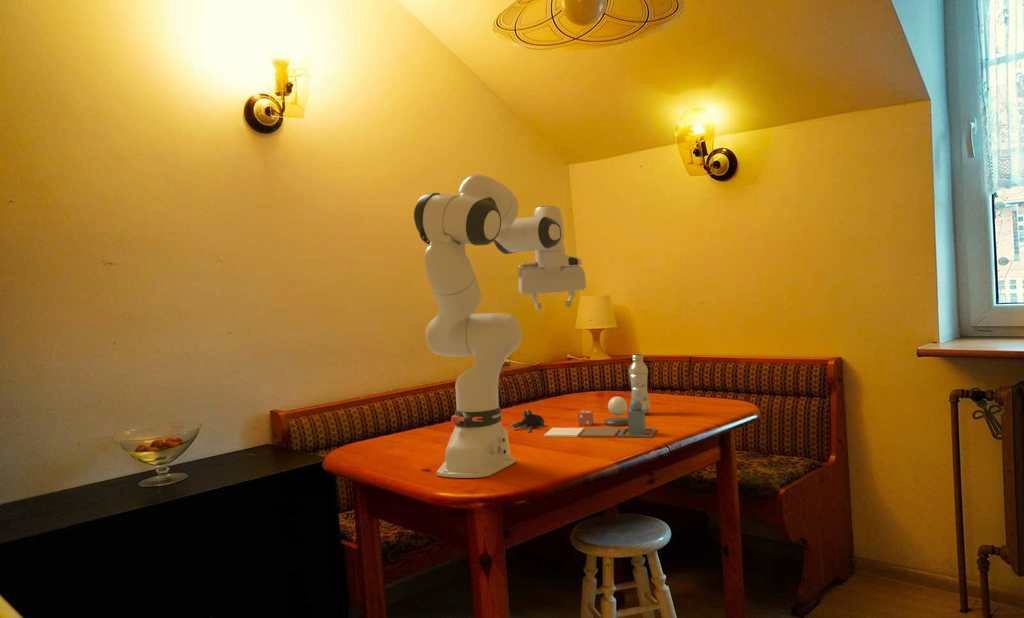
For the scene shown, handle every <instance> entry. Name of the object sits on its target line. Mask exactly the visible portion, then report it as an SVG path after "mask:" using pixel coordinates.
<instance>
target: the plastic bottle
mask: <svg viewBox="0 0 1024 618" xmlns="http://www.w3.org/2000/svg"><path fill="white" fill-rule="evenodd" d="M631 360H632V363H631V364H630V366H629V368H628V374H629V379H630V386H631V387H630V388H631V395H630V396H631V400H630V402H631V401H633V400H639V401H640V402H641V403H642V409H645V414H649V412H650V410H651V403H650V400H649V393H648V374H649V369H648V366H647V365H646V363H644V355H643V353H636V354H631Z"/></svg>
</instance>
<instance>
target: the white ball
mask: <svg viewBox="0 0 1024 618" xmlns="http://www.w3.org/2000/svg"><path fill="white" fill-rule="evenodd" d="M607 403H608V404H607V409H608V411H609V412H610V414H612V415H613V416H617V417H620V416H622V415H624V414H625V413H626V412H627V410H628V402H627V401H626V399H625V398H623V397H622V396H613V397H611V398H610V400H609V401H608V402H607Z"/></svg>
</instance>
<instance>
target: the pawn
mask: <svg viewBox="0 0 1024 618" xmlns="http://www.w3.org/2000/svg"><path fill="white" fill-rule="evenodd" d="M627 410H628V411H627V418H628V425H627V426H628V427H627V428H628V435H646V434H647V433H646V432H647V431H646V428H647V427H646V413H645V409H642V403H641V402H640V401H639V400H633V401H631V400H630V403H629V409H627Z"/></svg>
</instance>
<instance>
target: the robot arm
mask: <svg viewBox="0 0 1024 618" xmlns="http://www.w3.org/2000/svg"><path fill="white" fill-rule="evenodd" d="M519 205H520V204H519V200H518V198H517V197H516V195H515V193H514V192H513V191H512V190H511V189H509V188H508V187H507V186H506V185H504V184H503V183H502V182H500V181H498V180H496V179H494V178H492V177H490V176H486V175H484V174H478V173H477V174H472V175H470V176H468V177H467V178H465V179H464V180H463V181H462V183H461V185H460V186H459V189H458V194H450V193H449V194H447V193H443V194H441V193H439V192H432V193H426V194H423V195H421V196H420V197H419V199H418V200H417V202H416V203H415V206H414V209H413V220H414V223H415V227H416V230H417V232H418V233H419V238H420V239H421V240H422V241H423V242H424V243H425V244H427V245H428V246H427V248H426V250H425V251H424V255H423V261H424V266H425V272H426V276H427V280H428V283H429V284H430V289H431V291H432V293H433V297H434V299H435V301H436V305H437V308H438V309H437V310H438V311H437V314H436V316H434V318H433V319H431V320H430V321H429V322H428V324H427V326H426V328H425V336H424V338H425V342H426V346H427V347H428V349H429V350H430V352H431V353H433V354H434V355H437V356H438V355H440V356H443V357H444V356H445V357H450V358H451V357H474V364H473V365H472V367H471V368H468V369H467V370H465V371H463V373H461V374H460V375H459V376H458V377H457V378H456V381H455V384H454V385H455V386H454V387H455V400H456V401H455V402H456V404H455V405H456V410H455V411H454V415H451V418H450V420H451V422H450V423H452V424H454V428H453V431H452V433H451V435H450V437H449V440H448V443H447V446H446V448H445V461H443V463H442V464H441V466H440V467H439V468H438V470H436V475H437V476H440V477H443V478H444V477H445V478H458V479H459V478H461V479H463V478H464V479H465V478H466V479H468V478H469V479H471V478H473V479H475V478H486V477H490V476H492V475H494V474H496V473H498V472H500V471H502V470H504V469H505V468H507V467H509V466H511V465H513V464H514V463H516V462H517V461H516V457H515V456H512V455H511V451H510V443H509V442H510V441H509V436H508V434H509V433H508V429H506V427H504V425H503V424H502V422H501V421H502V409H501V407H500V405H499V404H500V403H499V402H500V401H499V379H500V374H501V370H502V367H503V365H504V363H505V362H506V360H507V359H508V358H509V357H510V355H512V354H513V353H514V352H515V351H517V349H518V348H519V346H520V344H521V341H522V337H523V331H522V326H521V324H520V322H519V320H518V319H517V318H516V317H515V316H514V315H513V314H512V315H511V314H506V313H499V312H490V313H489V312H486V313H475V312H476V310H478V308H479V307H480V305H481V303H482V292H481V288H480V286H479V282H478V280H477V276H476V274H475V272H474V269H473V266H472V263H471V261H470V259H469V257H468V255H467V254H466V245H467V244H468V245H473V246H488V245H490V244H491V243H493V244H494V245H495V247H496V249H498V251H500V252H501V253H502V254H504V255H509V254H515V253H524V252H533V251H535V253H534V254H535V262H529V263H526V262H523V263H522V264H520V265H519V266H518V267H517V276H518V292H519V293H520V295H521V296H522V295H524V296H525V295H530V299H531V300H532V301H533V303H534V306H535V307H534V308H535V310H542V302H539V301H538V299H537V298H538V294H549V293H551V294H553V293H565V292H567V294H568V295H569V296H568V299H567V300H564V301H565V303H564V305H565V308H569V307H570V308H571V307H572V306H573V303H572V302H573V299H574V297H575V296H576V291H577V292H578V291H580V292H581V291H585V289H586V287H587V282H586V281H587V280H586V274H585V271H584V268H583V267H582V266H581V265H582V259H581V258H580V257H576V256H571V255H567V254H566V250H565V249H566V248H565V246H564V238H565V229H564V222H563V217H562V213H561V210H560V208H559V207H557V206H553V205H541V206H538V207H536V208H535V209H534V215H532V216H530V217H521V218H520V217H519V218H517V217H518V214H519V208H520V207H519Z"/></svg>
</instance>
